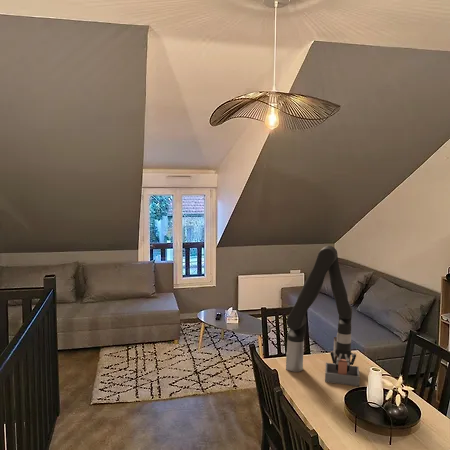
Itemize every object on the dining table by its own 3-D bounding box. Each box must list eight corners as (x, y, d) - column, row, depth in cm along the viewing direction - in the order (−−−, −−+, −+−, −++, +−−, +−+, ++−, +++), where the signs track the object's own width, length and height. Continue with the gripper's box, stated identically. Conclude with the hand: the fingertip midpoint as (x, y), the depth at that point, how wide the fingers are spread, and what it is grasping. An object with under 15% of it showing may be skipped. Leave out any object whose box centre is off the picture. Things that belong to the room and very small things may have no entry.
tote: (324, 381, 234) (325, 373, 233) (325, 371, 247) (325, 362, 246) (359, 386, 229) (359, 377, 229) (357, 375, 242) (358, 366, 242)
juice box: (338, 374, 236) (338, 361, 235) (337, 370, 240) (338, 358, 239) (346, 375, 235) (347, 362, 234) (346, 371, 239) (347, 359, 238)
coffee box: (348, 363, 257) (349, 337, 255) (350, 368, 251) (351, 341, 249) (332, 362, 258) (333, 336, 256) (334, 367, 252) (335, 340, 250)
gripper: (330, 341, 234) (328, 372, 235) (358, 344, 230) (356, 375, 232) (330, 336, 241) (329, 366, 243) (357, 339, 237) (355, 369, 239)
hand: (342, 370), depth 237 cm, fingers closed on juice box, 4 cm apart
